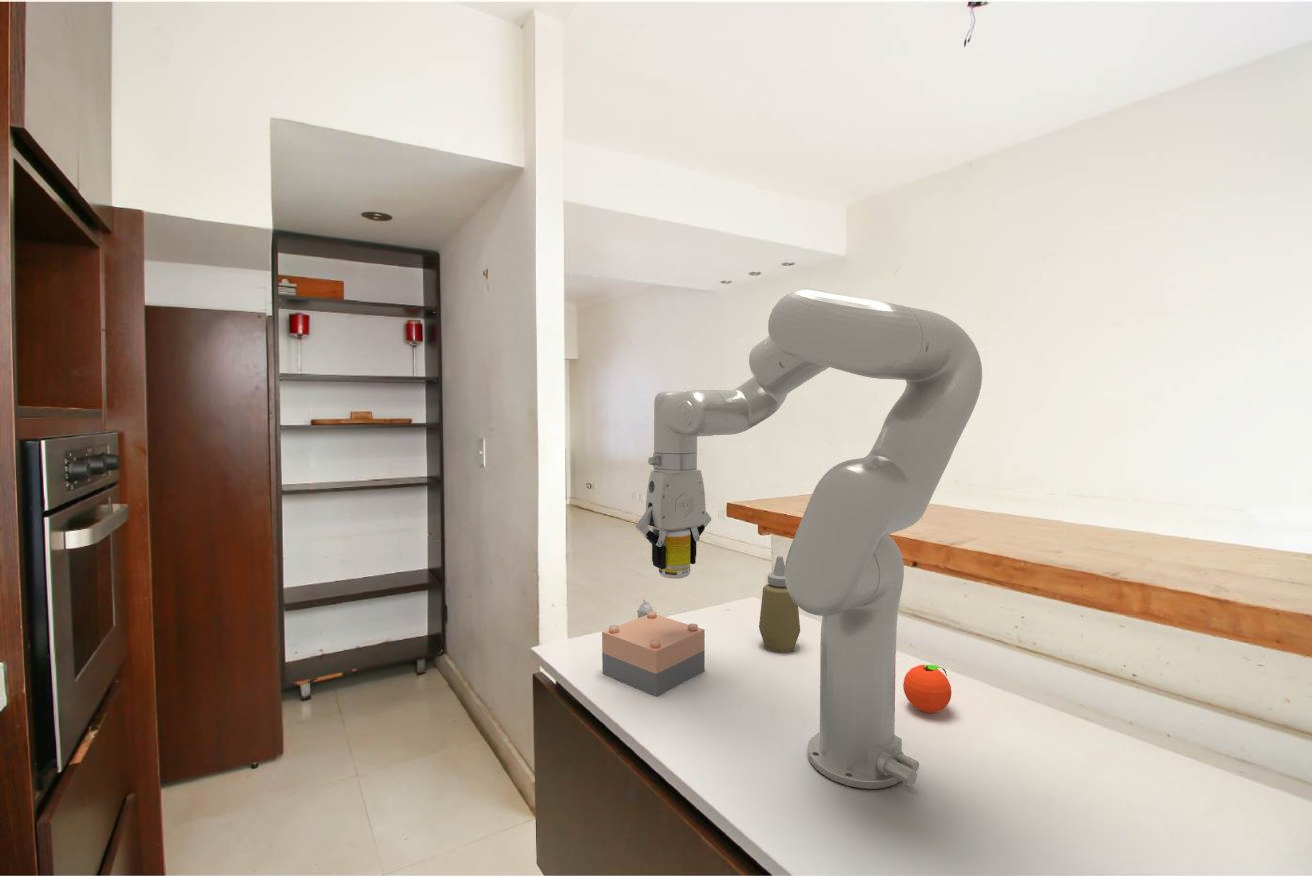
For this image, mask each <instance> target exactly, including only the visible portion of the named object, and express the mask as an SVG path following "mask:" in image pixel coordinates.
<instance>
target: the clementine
mask: <svg viewBox="0 0 1312 876" xmlns="http://www.w3.org/2000/svg"><path fill="white" fill-rule="evenodd" d="M940 669H941V670H942V671H943V672H944V673H943V672H942V671H941V670H940ZM947 677H948V674H947V670H946V669H945V668H943V667H941V666H939V665H936V664H919V665H916V666H914V667H912V668H910V670H909V671H907V672H906V674H905V676H904V679H903V682H902V688H903V693H904V695H905V697H906V699H907V700H908V702H909V703H910V704H911V705H912V707H914V708H916V709H917V710H918V711H921V712H924V713H928V714H933V713H934V714H935V713H938V712H941V711H943V710H944V709H945V708H946V707H947V706H949V703H950V701H951V699H952V686H951V683H950V680H949V679H948V678H947Z"/></svg>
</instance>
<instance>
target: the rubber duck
mask: <svg viewBox="0 0 1312 876" xmlns="http://www.w3.org/2000/svg"><path fill="white" fill-rule="evenodd" d="M639 605H640V606H639V608H638V609H637V611H636V612H637V615H636V616H637V618H636V619H638V618H640V617H643V616H645V615H647V612H650V611H654V608H653V606H652V604H651V603H649V601H647V602H646V600H645V598H643V603H641V604H639Z"/></svg>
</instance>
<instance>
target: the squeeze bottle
mask: <svg viewBox="0 0 1312 876" xmlns="http://www.w3.org/2000/svg"><path fill="white" fill-rule="evenodd" d="M759 613H760V614H759V621H758V622H759V623H758V628H759V632H760V635H761V638H762V643H763V644H764V648H767V649H768V650H770V651H774V652H790V651H792V650H794V649H795V647H796V644H797V642H798V638H799V636H800V633H801V622H800V614H799V606H797V605H796V603H795V602H794V601H793V600H792V598H791V596H790V595H789V592H788V590H787V587H786V582H785V561H784V557H783V556H776V560H775V563H774V568H773V571H772V572H771V573H768V574H767V583H766V584H765V585H764V586H763V588H762V594H761V604H760V612H759Z"/></svg>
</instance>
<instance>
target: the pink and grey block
mask: <svg viewBox="0 0 1312 876" xmlns="http://www.w3.org/2000/svg"><path fill="white" fill-rule="evenodd" d="M657 613H658V612H656V611H654V610H653V611H650V612H647V615H645V616H643V617H640V618H639V617H637V618H638V619H637V618H635V619H632V620H630V621H628V622H624V623H622V624H619V625H609V627H608V629H606V630H604V631H602V632H601V643H602V644H601V647H602V649H601V651H602V652H601V653H602V654H601V655H602V659H601V660H602V665H601V666H602V667H601V669H602V674H603V675H605V676H606V677H609V678H612V679H614V680H617V681H619V682H620V683H624V684H626V685H628V686H631V687H632V688H635V689H637V690H640V691H642V692H644V693H647V694H649V695H652V696H654V697H658V696H660V695H661V694H664V693H666V692H668V691H670V690H671V689H673V688H676V687H677V686H679V685H680V684H681V685H682V684H683V683H684V682H687V681H688V680H690V679H692V678H694V677H696V676H697V675H699V674H700V675H701V673H703V672H705V657H706V656H705V652H706V651H705V650H706V646H705V629H704V628H700V627H699V625H698V624H697V623H689V624H688V623H685V622H681V621H679V620H674V619H671V618H668V617H665V616H663V615H658V614H657Z"/></svg>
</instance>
